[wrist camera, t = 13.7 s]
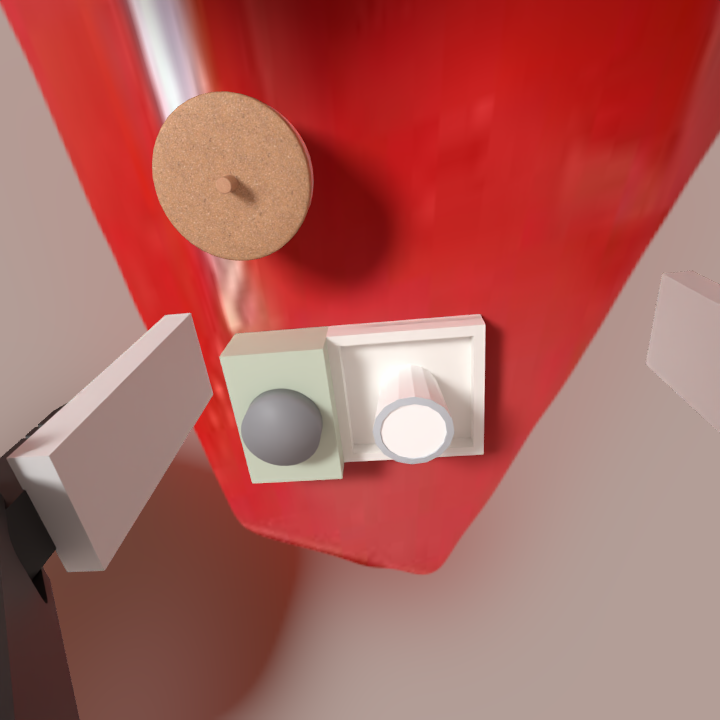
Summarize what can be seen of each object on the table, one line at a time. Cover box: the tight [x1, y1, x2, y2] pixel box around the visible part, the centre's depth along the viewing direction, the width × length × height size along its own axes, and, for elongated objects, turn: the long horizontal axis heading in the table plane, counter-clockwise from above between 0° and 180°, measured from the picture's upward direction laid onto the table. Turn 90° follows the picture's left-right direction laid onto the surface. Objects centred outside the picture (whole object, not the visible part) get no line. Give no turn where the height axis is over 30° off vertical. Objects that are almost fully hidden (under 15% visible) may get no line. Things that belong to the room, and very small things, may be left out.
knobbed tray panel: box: [220, 314, 485, 483], centre depth 45 cm, size 14×23×7 cm, turn 96°
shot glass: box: [373, 365, 454, 464], centre depth 43 cm, size 7×7×7 cm
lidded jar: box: [152, 92, 314, 260], centre depth 35 cm, size 11×11×9 cm
